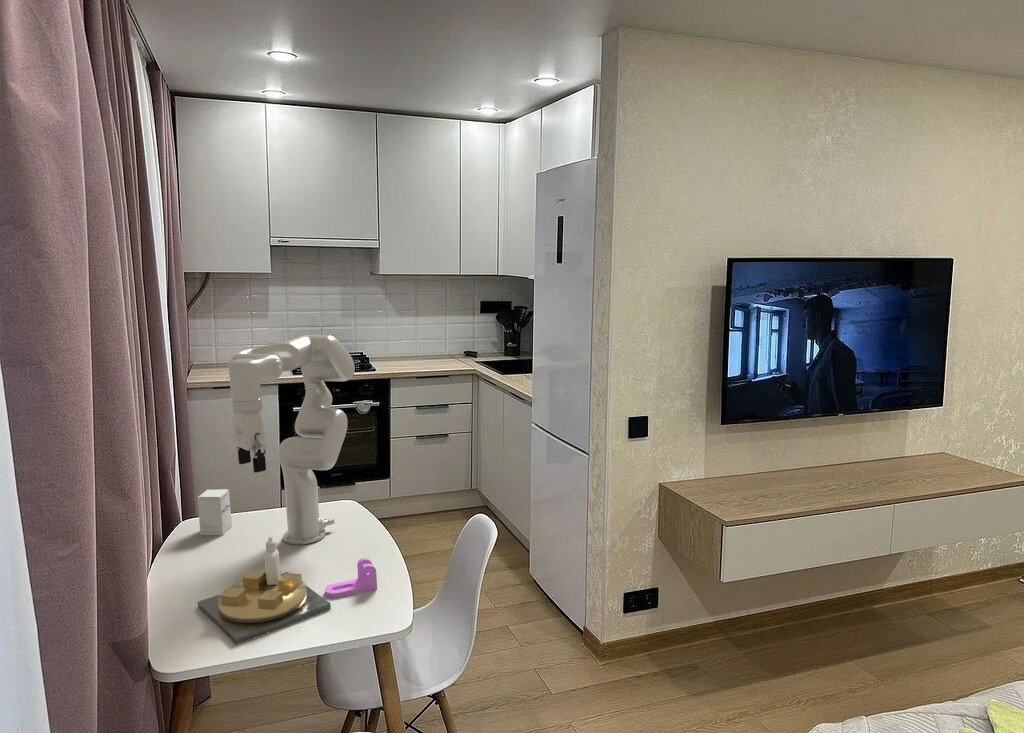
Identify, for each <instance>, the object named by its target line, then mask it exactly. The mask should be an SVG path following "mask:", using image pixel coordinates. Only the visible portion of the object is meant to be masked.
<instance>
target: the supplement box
mask: <svg viewBox="0 0 1024 733" xmlns="http://www.w3.org/2000/svg"><path fill="white" fill-rule="evenodd" d="M196 498H197V500H196V501H197V509H198V510H197V511H198V520H199V521H198V522H199V530H200V531H199V532H200V536H224V535H225V534H226V532H227V531H228V530H229V529H230V528H232V526H233V523H232V511H231V499H230V490H229V489H228V488H227V489H226V488H225V489H224V488H221V489H206V490H205V491H203V492H201V494H200V495H199V496H197V497H196Z"/></svg>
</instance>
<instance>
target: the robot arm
mask: <svg viewBox="0 0 1024 733" xmlns="http://www.w3.org/2000/svg"><path fill="white" fill-rule="evenodd" d="M355 366H356V365H355V361H354V358H352V356H351V355H350V352H348V350H346V347H344V345H343V344H342V343H341V342H340V341H339V340H338V339H337V338H335V336H332V335H327V334H322V335H321V334H304V335H300V336H297V337H295V338H291V339H289V340H286V341H284V342H279V343H273V344H269V345H264V346H258V347H253V348H248V349H246V350H242V351H240V352H237V353H236V354H234V355H233V356H232V357H231V358H230V361H229V363H228V375H229V376H228V377H229V385H230V386H229V387H230V396H231V397H230V399H231V409H232V429H233V430H232V431H233V432H232V433H233V434H232V435H233V443H234V445H235V446H236V449H237V457H238V464H239V465H245V464H249V463H251V462H252V467H253V472H254V473H260V472H264V471H266V470H267V466H266V465H267V464H266V455H267V454H266V447H267V444H266V442H265V430H264V424H263V423H264V422H263V418H262V417H263V416H262V413H261V411H263V400H262V389H261V384H263V383H270V382H271V383H272V382H274V381H276V380H277V379H279V378H280V377H281V376H282V375H283V372H289V371H290V372H291V371H294V370H297V369H298V368H300V370H301V371H300V372H301V374H302V379H303V384H304V387H305V395H304V398H303V402H302V404H301V407H300V409H299V411H298V414H297V417H296V420H295V422H294V431H295V433H296V434H297V435H298V436H292V437H291V436H290V437H288V438H285V439H284V440H282V442H281V443H280V444H279V447H278V450H277V452H278V453H277V454H278V460H279V463H280V467H281V470H282V475H283V482H284V483H283V484H284V495H285V496H284V498H285V509H286V511H285V512H286V523H287V531H285V532H284V533H283V535H282V539H283V541H284V542H285V543H286V544H289V545H296V546H297V545H299V546H300V545H308V544H312V543H317V542H318V541H320V540H322V539H324V537H325V536H326V529H325V528H326V527H327V526H332V525H334V524H335V519H334V517H331V518H328V519H327V518H326V517H323V518H320V510H319V509H320V508H319V496H318V491H319V490H318V481H317V478H316V475H315V473H314V471H313V470H315V471H328V470H331V469H332V468H333V467H334V466H335V464H336V463H337V461H338V458H339V455H340V452H341V449H342V446H343V445H344V444H343V443H344V441H345V437H346V434H347V431H348V417H347V414H346V413H345V412H344V411H343V410H341V409H340V408H336V407H335V408H331V406H332V402H333V395H332V393H331V391H330V390H329V388H328V387H327V385H326V383H325V382H346V381H349V380H351V379H352V378H353V376H354V375H355V369H356V368H355ZM251 453H252V455H251ZM251 456H253V457H252V458H251Z"/></svg>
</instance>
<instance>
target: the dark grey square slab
mask: <svg viewBox="0 0 1024 733" xmlns="http://www.w3.org/2000/svg"><path fill="white" fill-rule="evenodd" d="M285 573H289V572H288V571H285V572H283V573H280V575H284V574H285ZM306 589H307V598H306V601H305V602H304V603H303V605H302V606H301V607H299V608H298V609H297V610H295V611H293V612H292V613H290V614H288V615H285V616H283V617H280V618H277V619H274V620H270V621H265V622H258V623H239V622H233V621H230V620H227V619H225V618H224V617H222V616H221V615H220V613H219V607H218V599H219V597H220V595H221V594H222V593H219V594H217V595H214V596H211V597H207V598H205V599H202V600H198V601H197V608H198V609H200V611H202V613H203V614H204V615H206V617H207V618H208V619H209V620H210V621H211V622H212V621H213V622H214V623H215V624H216V625H217V626H218V627H219V628H220V629H221V630H222V631H223V632H224V633H225V634H226V635H227V636H228V637H229V638H230V639H231V640H232V641H233V642H234V643H235V644H237V645H239V644H238V643H240V644H242V643H241V642H243V643H245V642H247V641H246V640H248V641H250V640H249V639H251V640H253V639H255V638H254V637H256V638H258V637H261V636H263V635H262V634H264V635H266V634H268V633H267V632H269V633H271V632H275V631H276V629H277V630H279V629H282V628H284V627H286V626H289V625H291V624H294V623H297V622H300V621H303V620H305V619H308V618H310V616H311V617H312V615H313V616H315V614H316V615H317V613H318V614H321V613H323V611H324V612H327V611H329V610H331V609H332V608H331V607H332V606H331V602H329V601H328V600H327V599H326V598H324V597H323V596H322V595H320V594H319V593H317V592H316V591H314V590H313V589H311V587H309V586H308V585H306ZM320 612H321V613H320ZM307 617H308V618H307ZM302 619H303V620H302ZM213 622H212V623H213ZM214 623H213V624H214ZM215 624H214V625H215ZM218 627H217V628H218ZM220 629H219V630H220ZM221 630H220V631H221ZM222 631H221V632H222ZM223 632H222V633H223ZM224 633H223V634H224ZM265 633H266V634H265ZM225 634H224V635H225ZM226 635H225V636H226ZM260 635H261V636H260ZM227 636H226V637H227ZM257 636H258V637H257ZM228 637H227V638H228ZM229 638H228V639H229ZM252 638H253V639H252ZM230 639H229V640H230ZM231 640H230V641H231ZM232 641H231V642H232ZM244 641H245V642H244ZM233 642H232V643H233ZM234 643H233V644H234Z"/></svg>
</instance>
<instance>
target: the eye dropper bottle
mask: <svg viewBox="0 0 1024 733" xmlns="http://www.w3.org/2000/svg"><path fill="white" fill-rule="evenodd" d="M276 544H277V543H276V540H274V539H273V538H272V536H268V540H267V541H266V542H265V553H264V568H265V569H264V571H266V581H267V584H268V585H276V584H278V580H279V579H280V578H281V575H280V574H281V566H280V564H281V562H280V552H279V550H278V548H277V545H276Z"/></svg>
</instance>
